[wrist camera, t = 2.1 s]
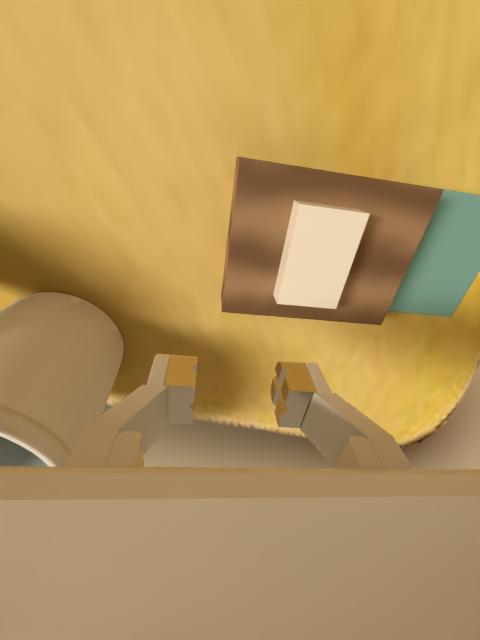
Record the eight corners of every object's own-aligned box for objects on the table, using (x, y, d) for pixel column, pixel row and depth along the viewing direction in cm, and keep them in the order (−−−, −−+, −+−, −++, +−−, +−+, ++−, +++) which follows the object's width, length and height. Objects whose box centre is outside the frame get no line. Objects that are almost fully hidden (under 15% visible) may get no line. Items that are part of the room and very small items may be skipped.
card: (293, 200, 24) (299, 203, 22) (359, 209, 24) (369, 213, 23) (273, 294, 28) (277, 303, 26) (328, 299, 29) (335, 309, 27)
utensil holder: (59, 258, 29) (-111, 374, 14) (155, 351, 36) (112, 494, 21) (-30, 327, 32) (-245, 480, 17) (74, 400, 39) (-13, 553, 24)
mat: (415, 185, 28) (417, 185, 27) (518, 201, 29) (521, 201, 29) (364, 308, 35) (365, 309, 34) (449, 315, 36) (451, 316, 36)
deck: (236, 156, 25) (240, 157, 22) (415, 185, 28) (443, 189, 24) (221, 295, 32) (221, 311, 29) (364, 308, 35) (381, 325, 31)
